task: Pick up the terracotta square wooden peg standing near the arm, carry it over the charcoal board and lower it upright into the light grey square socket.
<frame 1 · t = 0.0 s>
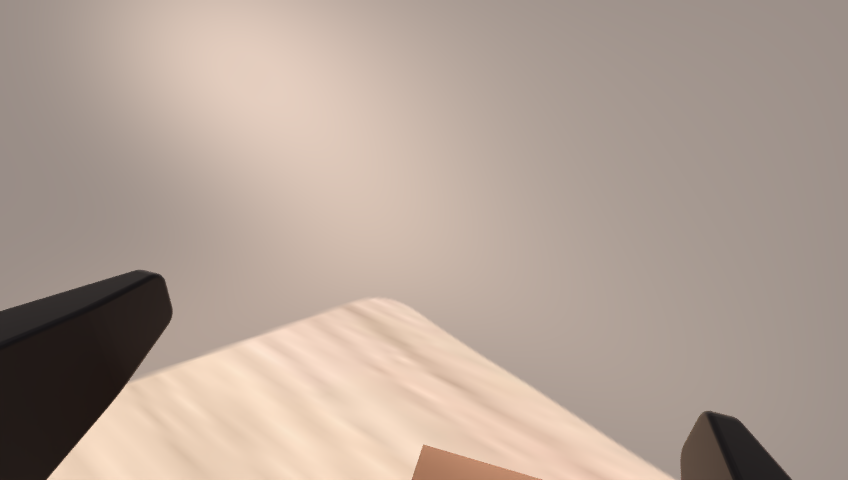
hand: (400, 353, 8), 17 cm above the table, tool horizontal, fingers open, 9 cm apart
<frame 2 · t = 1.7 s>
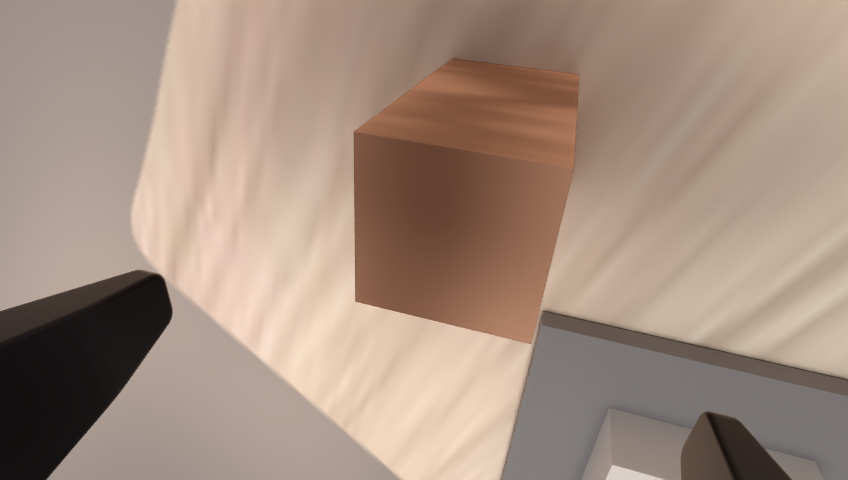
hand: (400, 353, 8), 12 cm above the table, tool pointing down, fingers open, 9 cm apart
peg: (504, 128, 18), on the table
socket: (672, 471, 24), on the table
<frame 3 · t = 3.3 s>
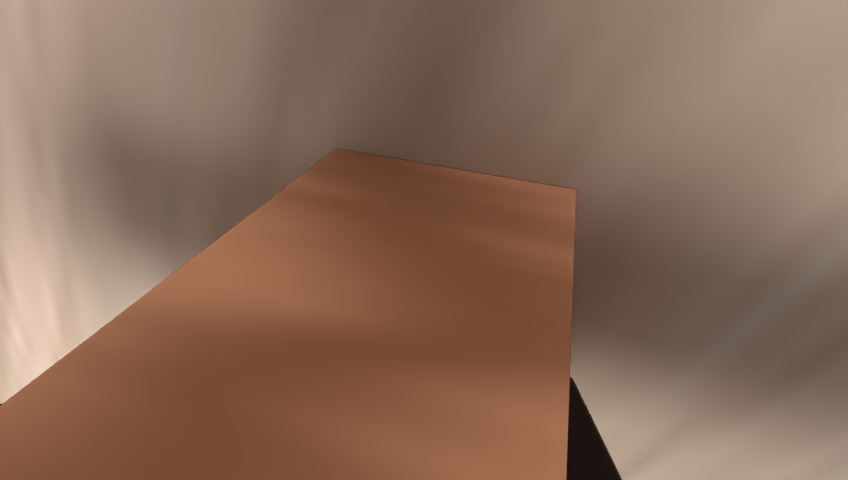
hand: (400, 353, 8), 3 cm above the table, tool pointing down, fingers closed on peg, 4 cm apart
peg: (439, 269, 10), on the table, touching gripper
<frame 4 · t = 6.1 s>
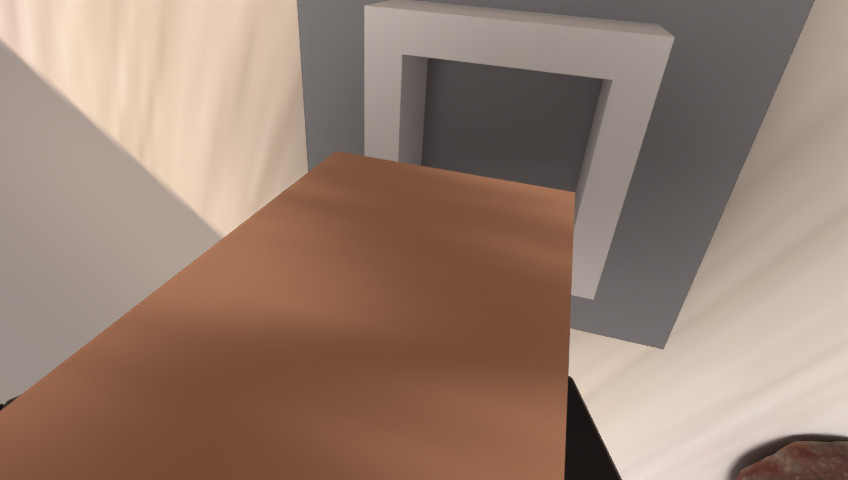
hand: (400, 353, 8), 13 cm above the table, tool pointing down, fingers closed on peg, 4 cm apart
peg: (439, 271, 10), point 10 cm above the table, touching gripper
socket: (505, 128, 19), on the table
when the fingers open (5 cm above the table, at t = 8.9 s): peg drops 1 cm, resting on socket.
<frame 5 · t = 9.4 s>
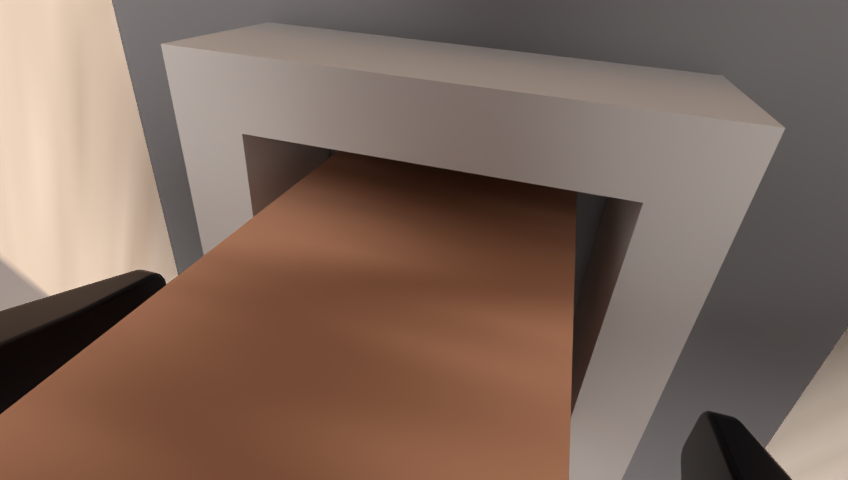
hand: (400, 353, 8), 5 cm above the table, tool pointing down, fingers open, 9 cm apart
peg: (453, 242, 11), point 1 cm above the table, touching socket
socket: (461, 221, 12), on the table
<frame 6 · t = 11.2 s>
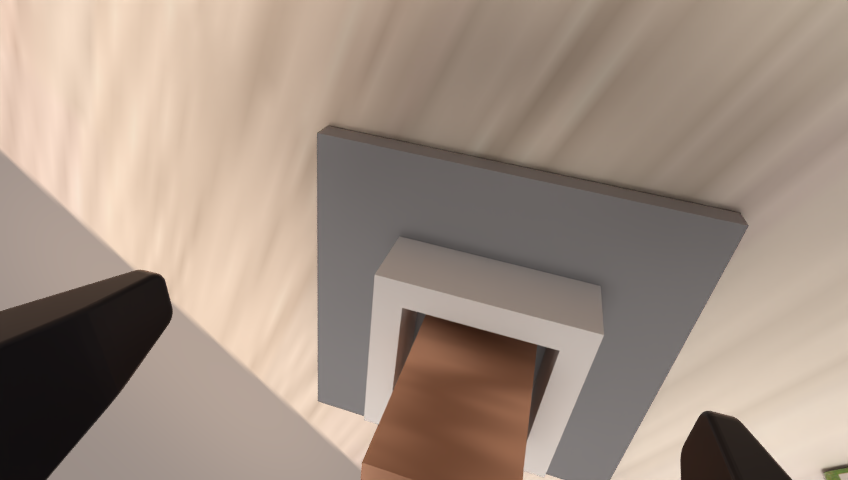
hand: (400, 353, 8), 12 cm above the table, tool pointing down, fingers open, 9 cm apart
peg: (479, 336, 22), point 1 cm above the table, touching socket
socket: (482, 322, 23), on the table
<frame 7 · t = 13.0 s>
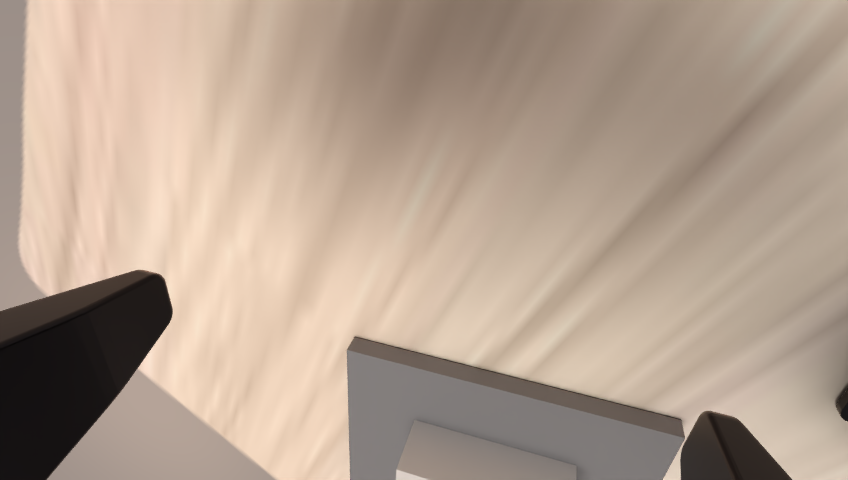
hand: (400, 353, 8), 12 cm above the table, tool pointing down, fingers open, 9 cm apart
socket: (485, 473, 28), on the table
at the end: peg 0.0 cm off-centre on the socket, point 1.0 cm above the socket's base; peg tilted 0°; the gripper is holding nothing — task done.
